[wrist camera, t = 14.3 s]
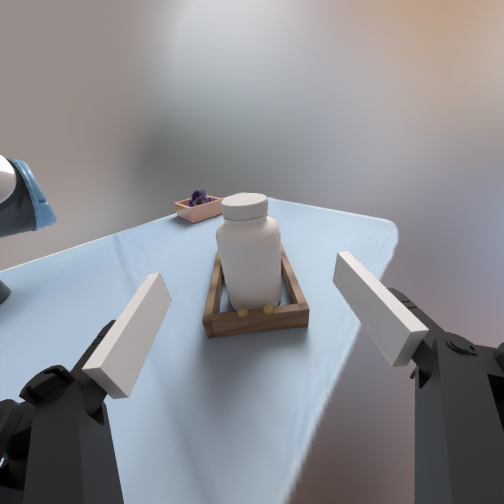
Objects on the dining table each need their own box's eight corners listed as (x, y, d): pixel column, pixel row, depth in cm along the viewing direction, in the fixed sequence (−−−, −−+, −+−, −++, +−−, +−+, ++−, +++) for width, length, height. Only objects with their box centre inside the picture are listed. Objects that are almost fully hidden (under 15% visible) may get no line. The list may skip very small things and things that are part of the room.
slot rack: (308, 326, 22) (309, 307, 21) (207, 338, 22) (201, 320, 21) (275, 240, 43) (274, 227, 42) (223, 246, 43) (220, 233, 42)
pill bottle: (275, 323, 23) (268, 209, 16) (220, 311, 26) (192, 209, 19) (286, 283, 30) (285, 189, 22) (241, 277, 32) (226, 191, 25)
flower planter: (193, 223, 60) (189, 208, 58) (177, 215, 70) (173, 202, 68) (225, 212, 67) (223, 198, 65) (207, 206, 77) (204, 194, 75)
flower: (182, 195, 71) (190, 184, 63) (204, 199, 76) (214, 190, 68) (182, 218, 70) (190, 210, 61) (204, 221, 75) (214, 214, 66)
